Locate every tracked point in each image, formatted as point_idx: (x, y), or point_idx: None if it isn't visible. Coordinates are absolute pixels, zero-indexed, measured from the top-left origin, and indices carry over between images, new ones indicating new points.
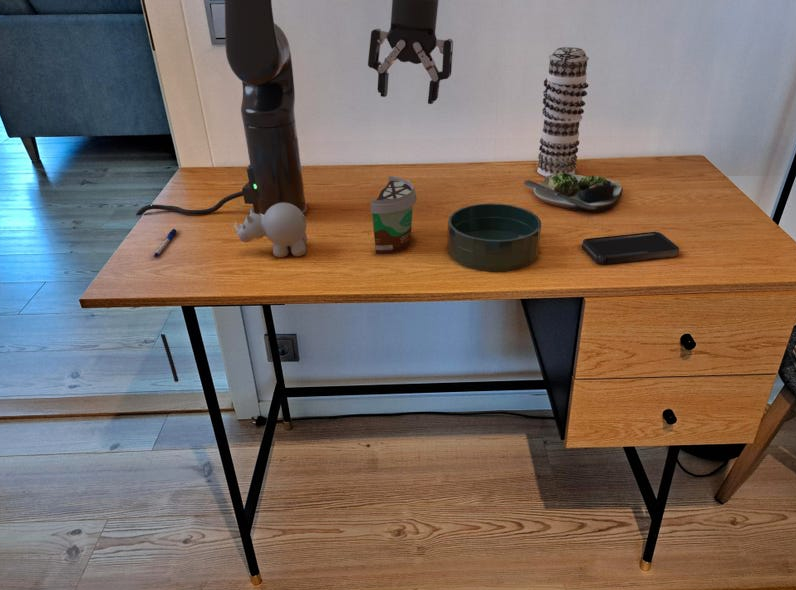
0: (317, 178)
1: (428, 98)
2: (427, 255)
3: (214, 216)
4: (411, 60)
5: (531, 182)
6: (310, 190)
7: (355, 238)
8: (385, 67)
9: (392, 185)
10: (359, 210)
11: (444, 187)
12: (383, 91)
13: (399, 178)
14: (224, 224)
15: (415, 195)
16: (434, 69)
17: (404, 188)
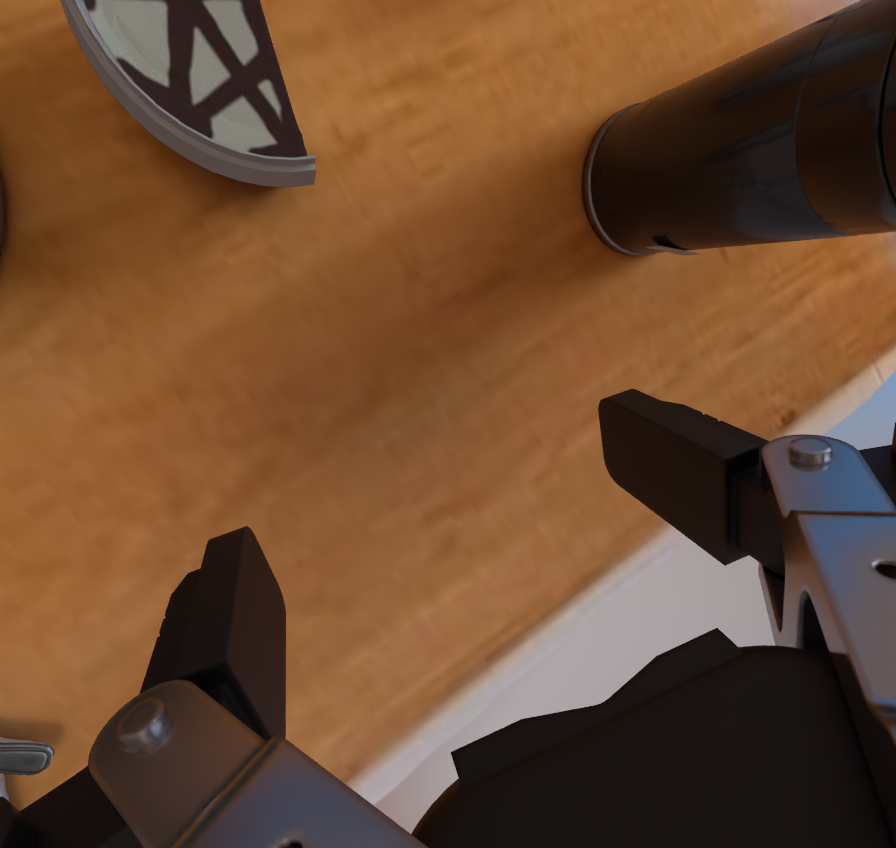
0: None
1: (237, 542)
2: (18, 24)
3: None
4: (575, 736)
5: (12, 764)
6: (642, 356)
7: (357, 80)
8: (795, 486)
9: (262, 107)
10: (462, 296)
11: (327, 585)
12: (629, 404)
13: (252, 153)
14: (724, 37)
15: (80, 37)
16: (145, 844)
17: (182, 89)
